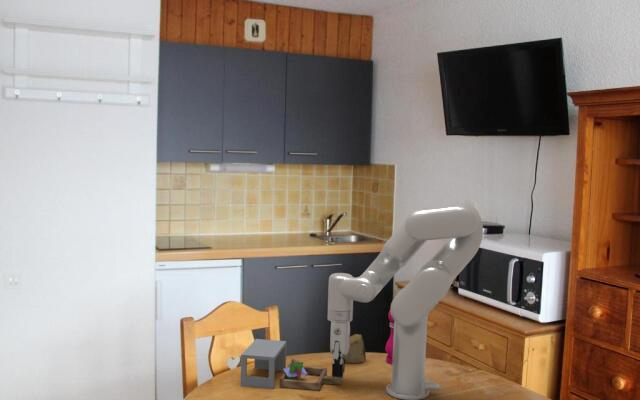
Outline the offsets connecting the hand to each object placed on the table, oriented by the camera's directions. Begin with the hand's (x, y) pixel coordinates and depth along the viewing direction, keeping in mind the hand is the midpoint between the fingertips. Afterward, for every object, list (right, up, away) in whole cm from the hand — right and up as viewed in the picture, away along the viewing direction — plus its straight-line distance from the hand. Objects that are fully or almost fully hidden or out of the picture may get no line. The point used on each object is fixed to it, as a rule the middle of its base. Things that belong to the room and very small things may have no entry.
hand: (338, 373), depth 204 cm
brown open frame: (-7, -3, +1) cm, 8 cm away
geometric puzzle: (-13, -3, +1) cm, 13 cm away
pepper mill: (+20, -2, +23) cm, 31 cm away
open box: (-23, -2, +4) cm, 23 cm away
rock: (+5, -2, +23) cm, 23 cm away
